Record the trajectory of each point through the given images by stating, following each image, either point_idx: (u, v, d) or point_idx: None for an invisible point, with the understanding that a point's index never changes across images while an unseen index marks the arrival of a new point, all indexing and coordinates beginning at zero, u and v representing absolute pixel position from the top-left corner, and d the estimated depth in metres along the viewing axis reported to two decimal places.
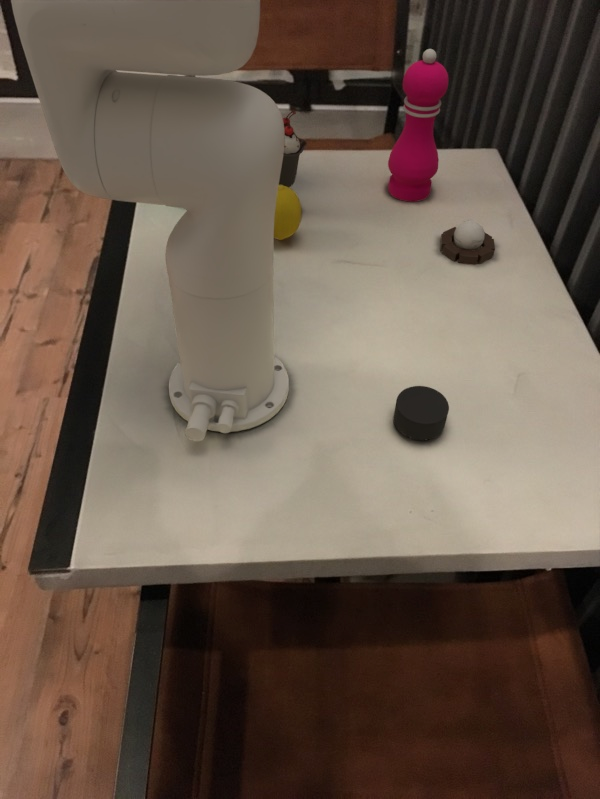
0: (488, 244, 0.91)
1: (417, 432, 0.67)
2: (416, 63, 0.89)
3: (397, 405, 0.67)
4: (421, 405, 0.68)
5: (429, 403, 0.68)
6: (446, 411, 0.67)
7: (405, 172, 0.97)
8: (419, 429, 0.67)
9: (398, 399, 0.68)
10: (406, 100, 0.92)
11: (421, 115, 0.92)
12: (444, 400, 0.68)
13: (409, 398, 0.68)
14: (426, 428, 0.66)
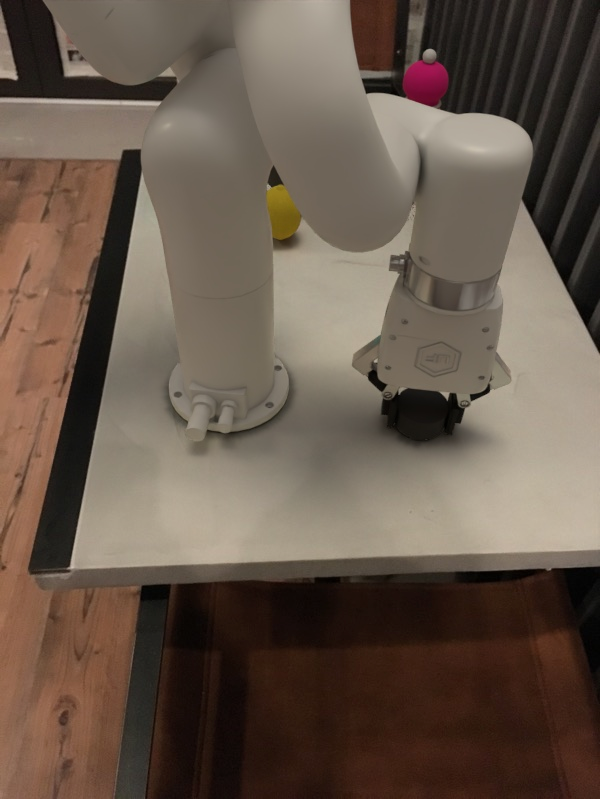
0: None
1: (417, 432, 0.67)
2: (416, 63, 0.89)
3: None
4: (421, 405, 0.68)
5: (429, 403, 0.68)
6: (446, 411, 0.67)
7: None
8: (419, 429, 0.67)
9: (398, 399, 0.68)
10: None
11: None
12: (444, 400, 0.68)
13: (409, 398, 0.68)
14: (426, 428, 0.66)
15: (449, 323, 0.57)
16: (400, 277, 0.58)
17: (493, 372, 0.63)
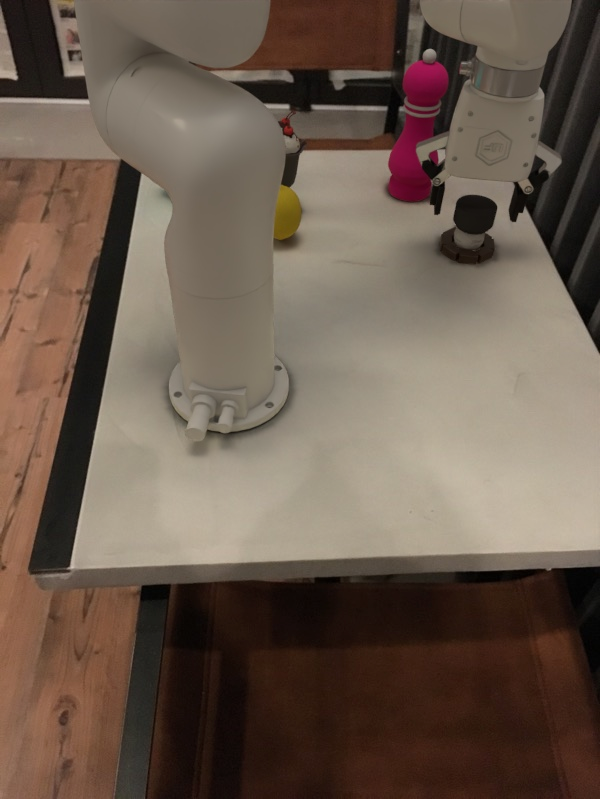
0: (488, 244, 0.91)
1: (473, 225, 0.87)
2: (416, 63, 0.89)
3: (457, 205, 0.87)
4: (475, 205, 0.87)
5: (482, 204, 0.87)
6: (495, 209, 0.87)
7: (405, 172, 0.97)
8: (475, 222, 0.86)
9: (457, 202, 0.88)
10: (406, 100, 0.92)
11: (421, 115, 0.92)
12: (493, 203, 0.88)
13: (466, 201, 0.88)
14: (480, 220, 0.86)
15: (504, 113, 0.76)
16: (466, 83, 0.78)
17: (544, 158, 0.81)
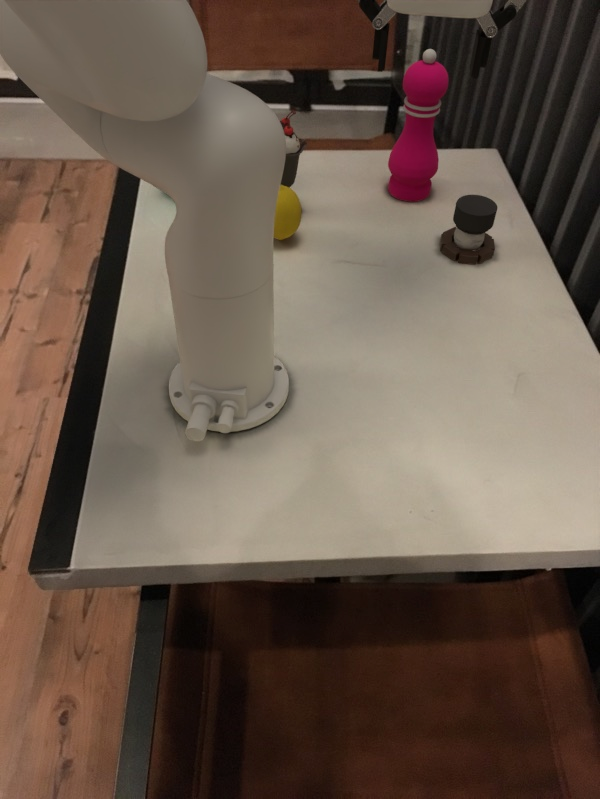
0: (488, 244, 0.91)
1: (473, 225, 0.87)
2: (416, 63, 0.89)
3: (457, 205, 0.87)
4: (475, 205, 0.87)
5: (482, 204, 0.87)
6: (495, 209, 0.87)
7: (405, 172, 0.97)
8: (475, 222, 0.86)
9: (457, 202, 0.88)
10: (406, 100, 0.92)
11: (421, 115, 0.92)
12: (493, 203, 0.88)
13: (466, 201, 0.88)
14: (480, 220, 0.86)
15: None
16: None
17: None
